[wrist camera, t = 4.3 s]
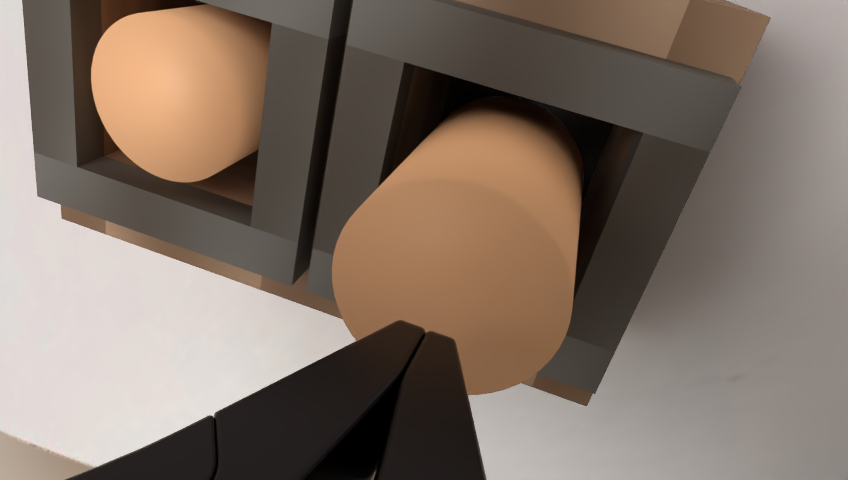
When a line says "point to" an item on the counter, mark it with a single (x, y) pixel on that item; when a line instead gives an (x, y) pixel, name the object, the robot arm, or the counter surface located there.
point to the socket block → (406, 134)
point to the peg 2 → (472, 241)
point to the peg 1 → (183, 88)
